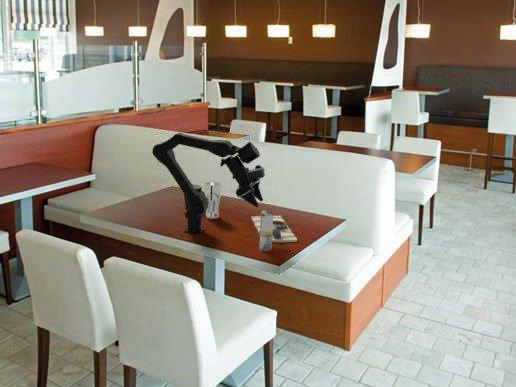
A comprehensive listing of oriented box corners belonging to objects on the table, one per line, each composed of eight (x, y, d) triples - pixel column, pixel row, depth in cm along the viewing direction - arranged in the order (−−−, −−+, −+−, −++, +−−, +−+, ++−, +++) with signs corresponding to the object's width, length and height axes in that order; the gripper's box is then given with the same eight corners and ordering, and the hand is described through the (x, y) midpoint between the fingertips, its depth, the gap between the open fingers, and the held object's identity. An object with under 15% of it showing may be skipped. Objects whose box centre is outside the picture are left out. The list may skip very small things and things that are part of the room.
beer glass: (201, 217, 250) (201, 183, 247) (209, 213, 256) (210, 180, 253) (214, 220, 247) (215, 186, 243) (223, 216, 253) (223, 183, 249)
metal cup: (270, 252, 211) (271, 218, 208) (257, 250, 213) (258, 216, 209) (273, 247, 216) (274, 214, 213) (261, 246, 217) (262, 213, 214)
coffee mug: (192, 204, 271) (192, 183, 268) (205, 207, 265) (206, 186, 263) (174, 208, 262) (174, 187, 259) (187, 212, 257) (187, 190, 254)
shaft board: (297, 241, 223) (297, 232, 222) (264, 242, 221) (264, 233, 220) (280, 217, 254) (280, 209, 253) (251, 218, 252) (251, 209, 251)
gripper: (250, 163, 211) (273, 199, 213) (259, 155, 229) (280, 188, 231) (225, 179, 215) (248, 214, 216) (236, 169, 232) (257, 201, 234)
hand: (259, 203), depth 224 cm, fingers open, 9 cm apart
